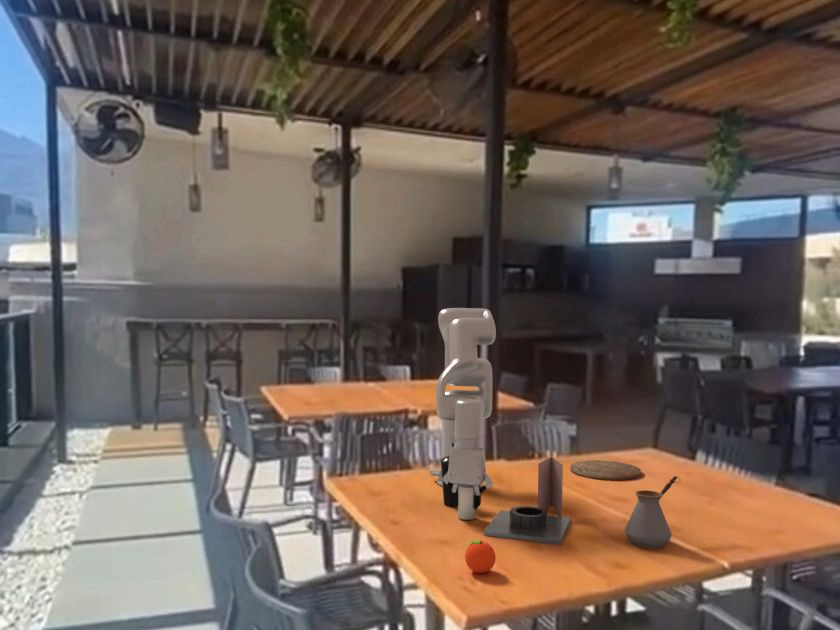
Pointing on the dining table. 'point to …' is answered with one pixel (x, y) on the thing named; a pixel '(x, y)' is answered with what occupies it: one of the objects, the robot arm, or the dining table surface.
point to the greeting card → (550, 484)
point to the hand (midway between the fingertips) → (466, 506)
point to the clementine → (480, 556)
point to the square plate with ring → (528, 525)
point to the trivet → (605, 470)
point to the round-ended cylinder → (466, 502)
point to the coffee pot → (649, 520)
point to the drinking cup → (446, 490)
